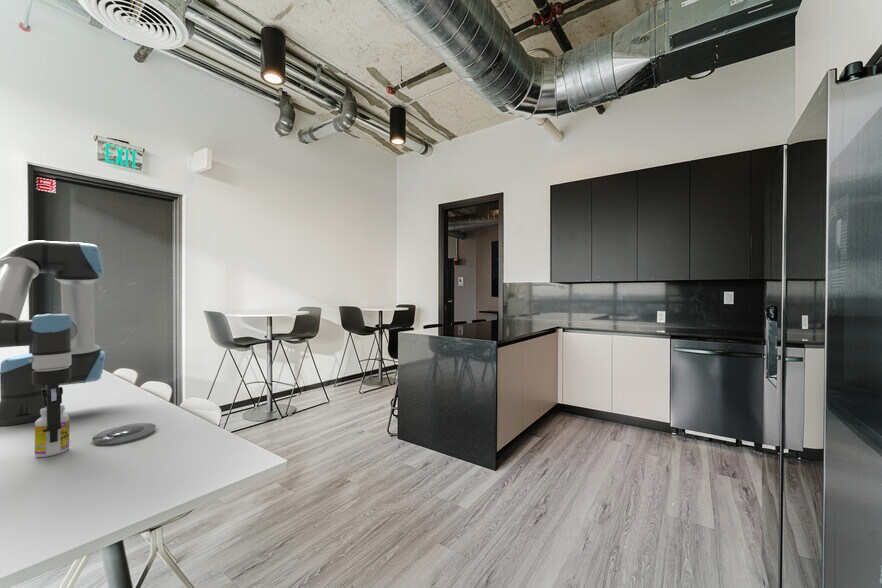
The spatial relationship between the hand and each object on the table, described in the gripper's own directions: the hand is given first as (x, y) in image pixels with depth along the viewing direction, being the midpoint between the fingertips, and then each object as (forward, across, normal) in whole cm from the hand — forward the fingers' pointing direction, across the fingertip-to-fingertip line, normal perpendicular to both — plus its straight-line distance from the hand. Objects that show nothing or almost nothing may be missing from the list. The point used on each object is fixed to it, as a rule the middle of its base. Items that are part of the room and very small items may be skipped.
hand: (52, 449), depth 100 cm
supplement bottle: (+1, 0, 0) cm, 1 cm away
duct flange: (+1, 0, +16) cm, 16 cm away
